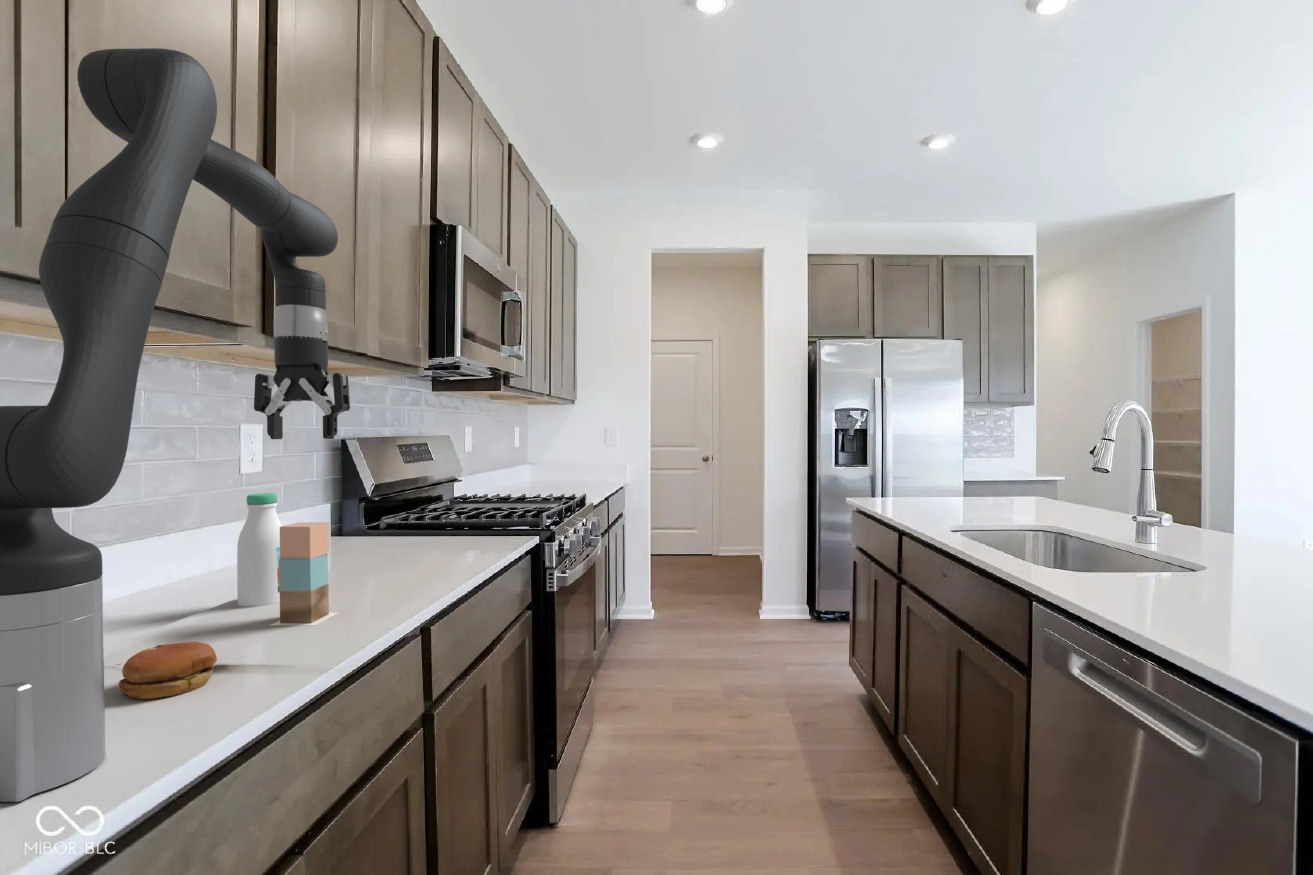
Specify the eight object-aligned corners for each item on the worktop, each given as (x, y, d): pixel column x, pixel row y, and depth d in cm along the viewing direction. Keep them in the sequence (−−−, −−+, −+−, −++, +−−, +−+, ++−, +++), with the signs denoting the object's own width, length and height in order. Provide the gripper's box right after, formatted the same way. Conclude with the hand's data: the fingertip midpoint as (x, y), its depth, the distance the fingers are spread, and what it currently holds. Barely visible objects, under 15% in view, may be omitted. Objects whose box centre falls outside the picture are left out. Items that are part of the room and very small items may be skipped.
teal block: (310, 591, 101) (310, 559, 101) (279, 591, 101) (278, 559, 101) (327, 583, 106) (327, 553, 106) (297, 583, 106) (297, 553, 106)
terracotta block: (310, 558, 101) (309, 526, 101) (280, 558, 102) (279, 526, 101) (329, 552, 106) (328, 522, 106) (300, 552, 107) (299, 522, 106)
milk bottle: (265, 613, 111) (263, 496, 110) (226, 611, 112) (224, 496, 112) (298, 602, 118) (297, 492, 118) (262, 600, 120) (260, 491, 119)
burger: (172, 703, 74) (171, 662, 74) (98, 701, 75) (97, 661, 75) (236, 672, 84) (235, 636, 84) (169, 670, 85) (169, 634, 85)
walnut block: (311, 623, 101) (311, 591, 101) (280, 623, 101) (279, 591, 101) (328, 614, 106) (328, 583, 106) (298, 614, 106) (298, 583, 106)
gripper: (241, 334, 100) (243, 439, 100) (332, 333, 99) (334, 439, 99) (272, 341, 107) (273, 439, 107) (357, 340, 107) (358, 438, 107)
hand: (302, 439), depth 103 cm, fingers open, 8 cm apart
